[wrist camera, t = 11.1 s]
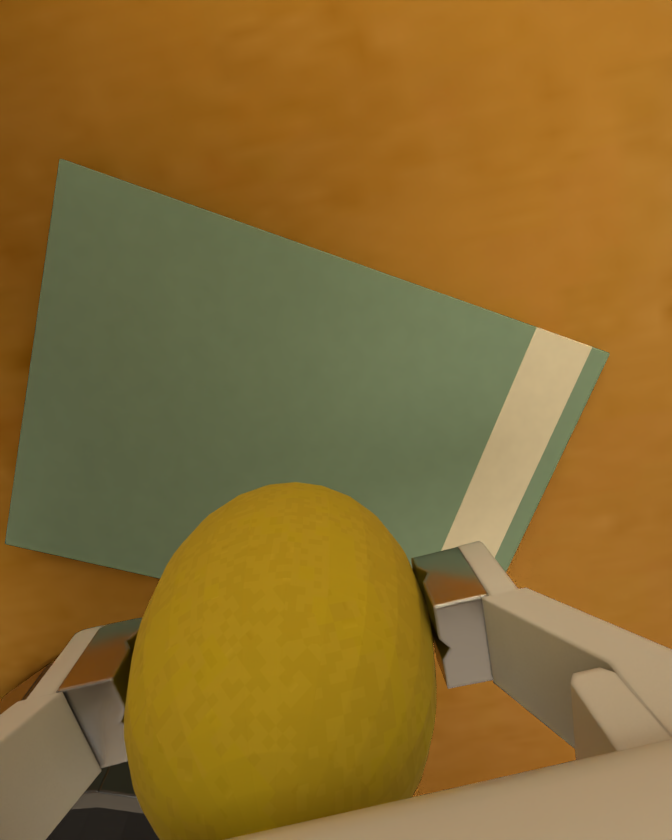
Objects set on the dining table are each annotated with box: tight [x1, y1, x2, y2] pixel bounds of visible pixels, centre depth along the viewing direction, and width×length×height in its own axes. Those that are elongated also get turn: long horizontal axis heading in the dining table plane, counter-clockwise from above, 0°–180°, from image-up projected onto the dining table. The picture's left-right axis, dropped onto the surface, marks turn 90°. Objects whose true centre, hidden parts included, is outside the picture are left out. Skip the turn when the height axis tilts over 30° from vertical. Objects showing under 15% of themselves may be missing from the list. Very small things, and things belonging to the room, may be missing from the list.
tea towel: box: [5, 159, 609, 578], centre depth 16 cm, size 20×14×1 cm
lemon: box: [124, 482, 436, 840], centre depth 8 cm, size 6×6×8 cm
